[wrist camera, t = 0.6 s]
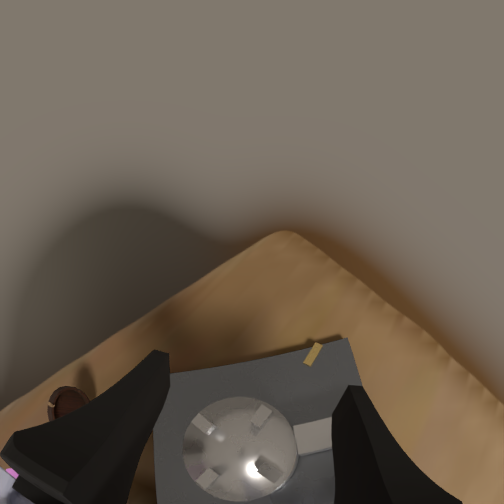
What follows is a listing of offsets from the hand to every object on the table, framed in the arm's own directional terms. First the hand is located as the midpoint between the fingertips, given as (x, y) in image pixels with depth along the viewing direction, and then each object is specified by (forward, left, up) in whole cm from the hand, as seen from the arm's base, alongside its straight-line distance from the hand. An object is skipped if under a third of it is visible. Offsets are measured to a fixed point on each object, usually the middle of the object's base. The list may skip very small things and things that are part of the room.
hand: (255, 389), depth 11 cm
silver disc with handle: (-1, +1, -15) cm, 15 cm away
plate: (-3, +3, -16) cm, 17 cm away
